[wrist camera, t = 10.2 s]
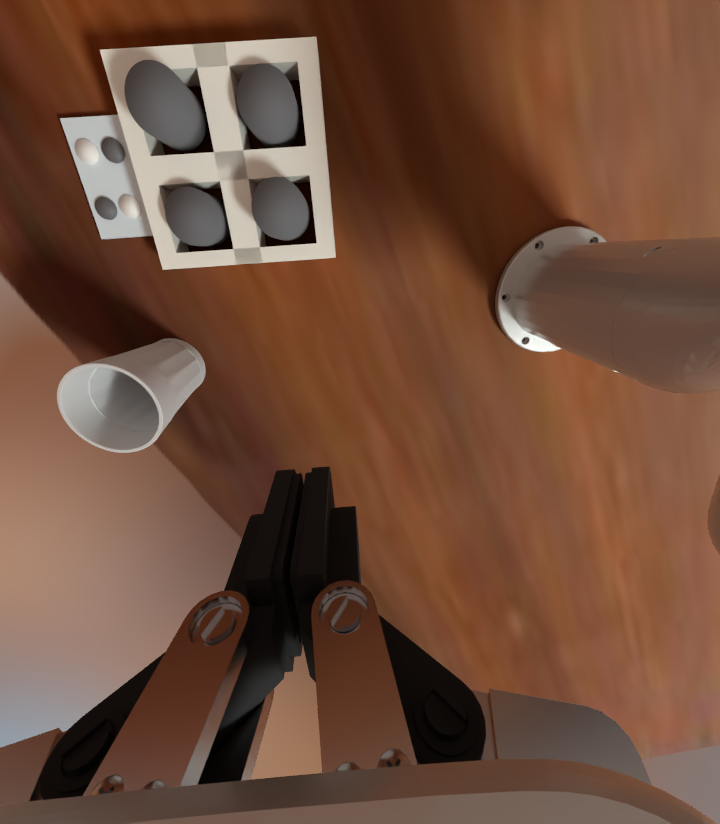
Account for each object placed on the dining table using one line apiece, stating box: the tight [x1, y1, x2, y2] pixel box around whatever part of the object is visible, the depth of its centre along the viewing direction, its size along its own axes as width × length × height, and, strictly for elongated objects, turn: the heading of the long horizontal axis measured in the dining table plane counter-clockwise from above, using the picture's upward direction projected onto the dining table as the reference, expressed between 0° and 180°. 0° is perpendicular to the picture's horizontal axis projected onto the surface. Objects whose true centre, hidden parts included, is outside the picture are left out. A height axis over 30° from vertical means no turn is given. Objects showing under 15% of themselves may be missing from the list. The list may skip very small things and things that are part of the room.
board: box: [100, 37, 336, 270], centre depth 30 cm, size 16×15×3 cm
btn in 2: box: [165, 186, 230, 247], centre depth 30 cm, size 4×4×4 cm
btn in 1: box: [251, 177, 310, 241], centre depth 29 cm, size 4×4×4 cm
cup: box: [57, 338, 205, 453], centre depth 33 cm, size 8×8×12 cm
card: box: [60, 115, 153, 239], centre depth 30 cm, size 5×9×1 cm, turn 4°
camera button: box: [237, 63, 301, 148], centre depth 27 cm, size 4×4×4 cm
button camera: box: [124, 60, 206, 151], centre depth 26 cm, size 4×4×4 cm
